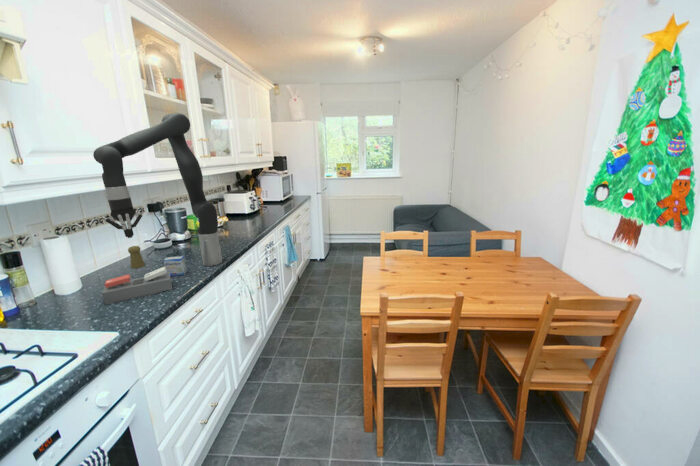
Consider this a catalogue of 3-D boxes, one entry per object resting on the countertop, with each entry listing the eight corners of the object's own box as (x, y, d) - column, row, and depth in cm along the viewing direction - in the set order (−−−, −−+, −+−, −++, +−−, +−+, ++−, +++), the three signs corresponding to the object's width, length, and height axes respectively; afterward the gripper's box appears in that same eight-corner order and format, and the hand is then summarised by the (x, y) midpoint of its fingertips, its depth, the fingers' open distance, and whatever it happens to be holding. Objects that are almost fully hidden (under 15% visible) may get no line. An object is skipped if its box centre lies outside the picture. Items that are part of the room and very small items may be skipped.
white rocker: (166, 269, 130) (164, 266, 130) (166, 272, 127) (164, 269, 126) (146, 277, 127) (144, 274, 126) (146, 281, 123) (144, 278, 123)
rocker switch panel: (171, 282, 135) (169, 270, 133) (172, 289, 127) (169, 277, 126) (108, 295, 123) (105, 282, 121) (105, 304, 116) (101, 290, 114)
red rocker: (130, 277, 124) (129, 273, 123) (130, 281, 120) (128, 277, 120) (107, 283, 120) (106, 280, 119) (106, 288, 116) (104, 284, 116)
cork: (137, 268, 150) (133, 248, 147) (128, 268, 152) (123, 248, 148) (147, 264, 156) (143, 245, 153) (138, 263, 157) (133, 244, 154)
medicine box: (166, 276, 141) (163, 260, 138) (169, 273, 145) (166, 256, 142) (184, 274, 143) (181, 258, 140) (186, 271, 147) (184, 255, 144)
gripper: (138, 194, 126) (148, 232, 131) (99, 198, 119) (111, 238, 124) (138, 196, 119) (148, 236, 125) (96, 200, 113) (109, 242, 118)
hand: (130, 237), depth 124 cm, fingers closed
